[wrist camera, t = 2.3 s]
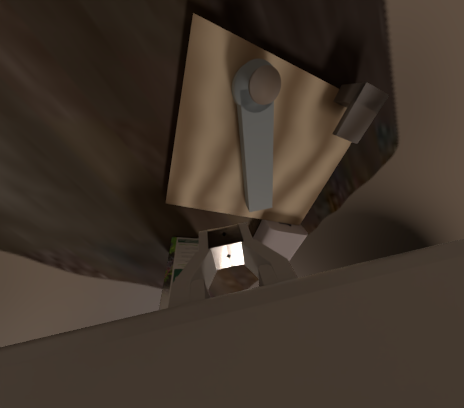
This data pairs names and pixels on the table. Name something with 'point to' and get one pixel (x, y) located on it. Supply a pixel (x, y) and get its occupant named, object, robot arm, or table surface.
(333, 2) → the table surface
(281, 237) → the charger
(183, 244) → the syrup box
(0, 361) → the robot arm
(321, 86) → the pintle plate
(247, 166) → the link
